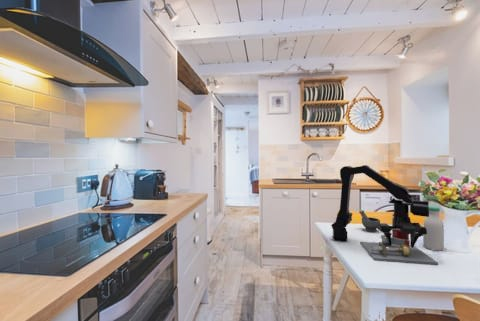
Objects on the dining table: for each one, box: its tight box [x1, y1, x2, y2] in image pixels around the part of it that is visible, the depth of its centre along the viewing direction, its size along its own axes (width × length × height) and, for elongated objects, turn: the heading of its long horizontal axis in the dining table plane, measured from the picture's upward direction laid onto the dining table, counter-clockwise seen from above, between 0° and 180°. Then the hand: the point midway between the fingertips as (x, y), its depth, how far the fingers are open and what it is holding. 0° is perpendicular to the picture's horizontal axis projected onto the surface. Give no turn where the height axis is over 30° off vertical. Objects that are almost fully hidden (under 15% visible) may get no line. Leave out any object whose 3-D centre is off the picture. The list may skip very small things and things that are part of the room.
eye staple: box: [378, 241, 386, 257], centre depth 106 cm, size 1×5×6 cm, turn 168°
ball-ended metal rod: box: [380, 234, 410, 246], centre depth 115 cm, size 12×4×4 cm, turn 51°
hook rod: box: [370, 245, 410, 256], centre depth 105 cm, size 15×4×4 cm, turn 79°
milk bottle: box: [422, 205, 445, 252], centre depth 115 cm, size 8×8×20 cm
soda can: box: [391, 216, 410, 241], centre depth 125 cm, size 7×7×12 cm
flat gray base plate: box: [359, 241, 439, 266], centre depth 109 cm, size 24×20×1 cm
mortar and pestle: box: [358, 210, 381, 233], centre depth 142 cm, size 11×9×12 cm
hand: (401, 246), depth 110 cm, fingers open, 9 cm apart
